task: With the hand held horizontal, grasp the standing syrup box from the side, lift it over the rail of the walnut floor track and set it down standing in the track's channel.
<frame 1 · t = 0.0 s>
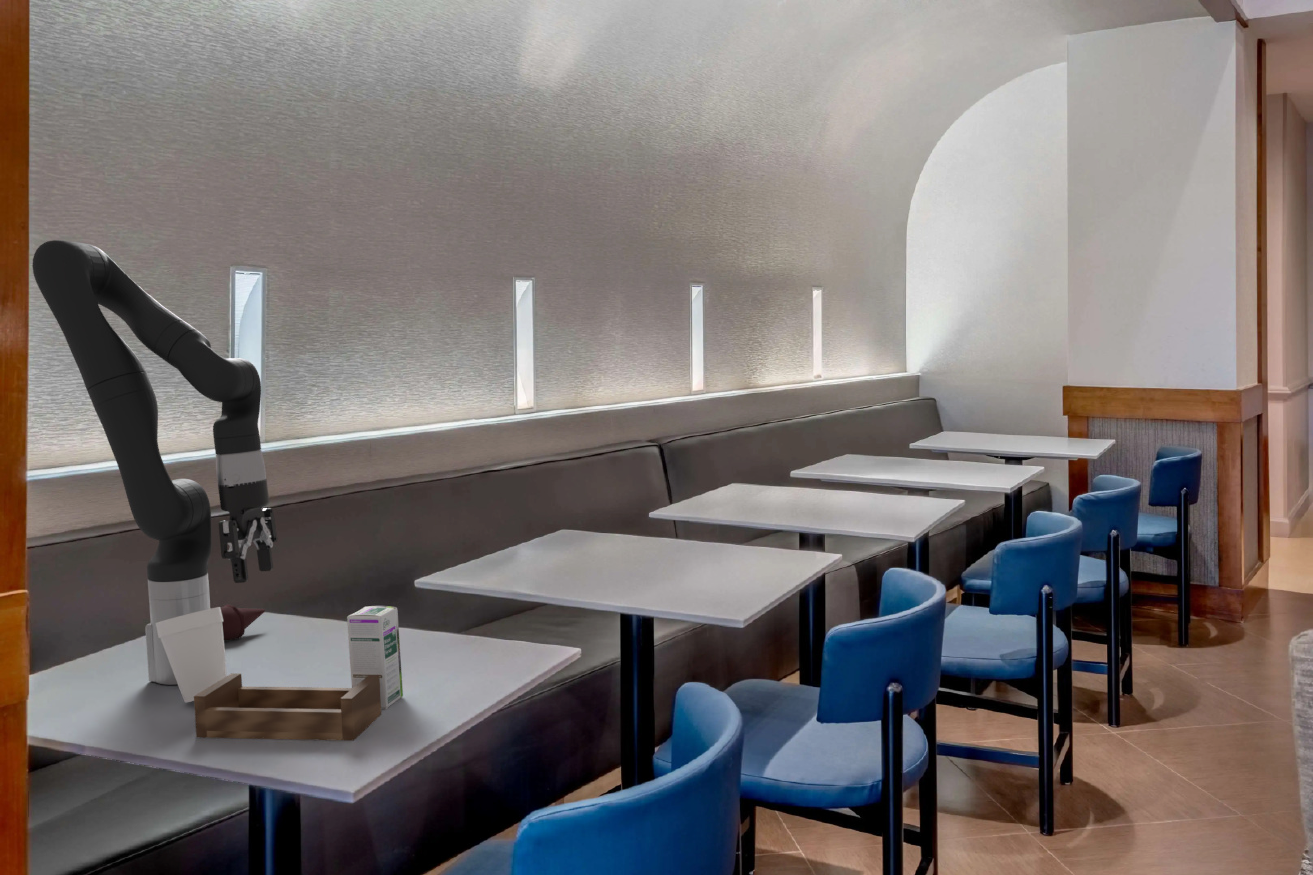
hand: (254, 576, 176), 17 cm above the table, tool pointing down, fingers open, 8 cm apart
syrup box: (377, 703, 164), on the table
foam cup: (206, 697, 166), point 1 cm above the table
icecream: (231, 640, 203), on the table
track: (291, 725, 155), on the table
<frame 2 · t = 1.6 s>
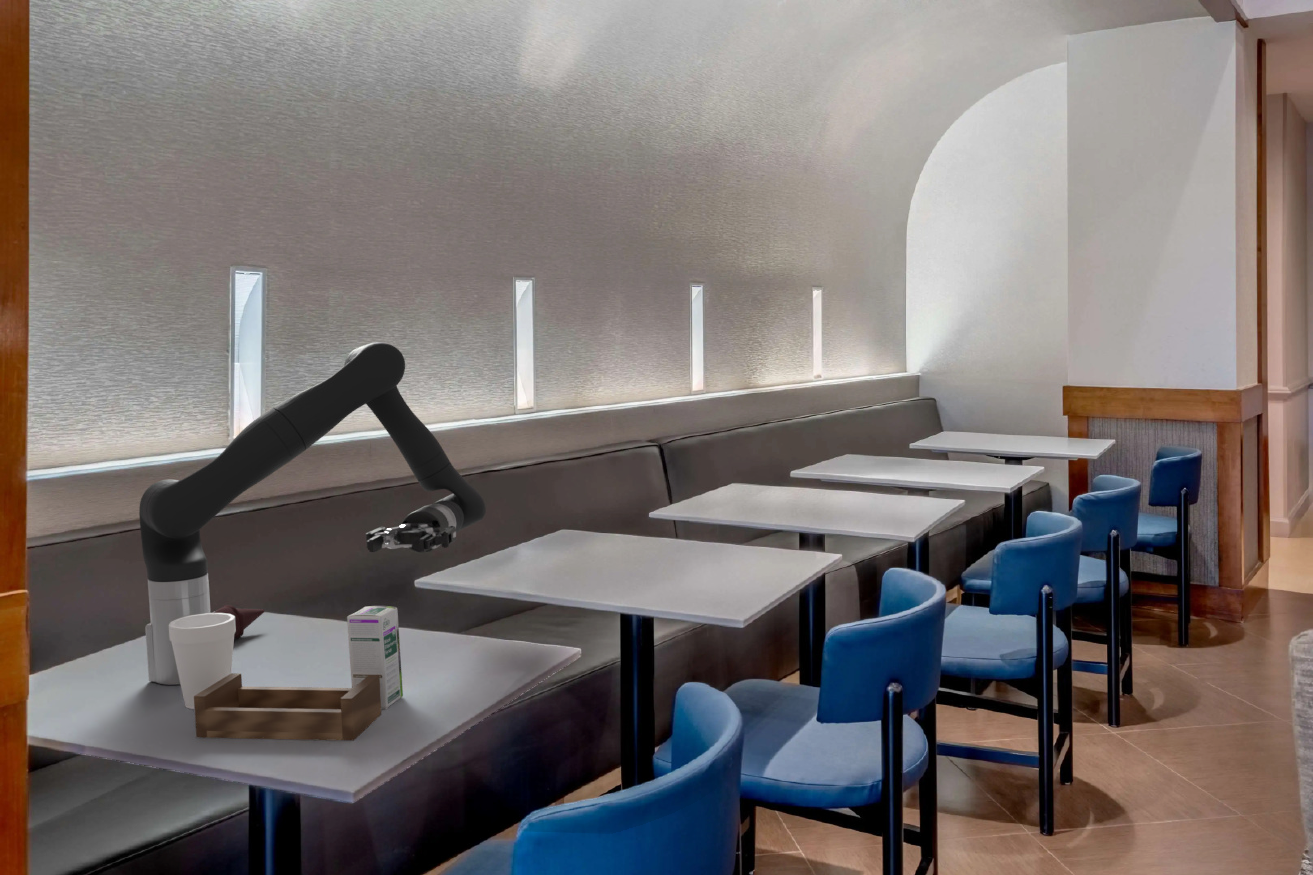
hand: (396, 546, 173), 22 cm above the table, tool horizontal, fingers open, 8 cm apart
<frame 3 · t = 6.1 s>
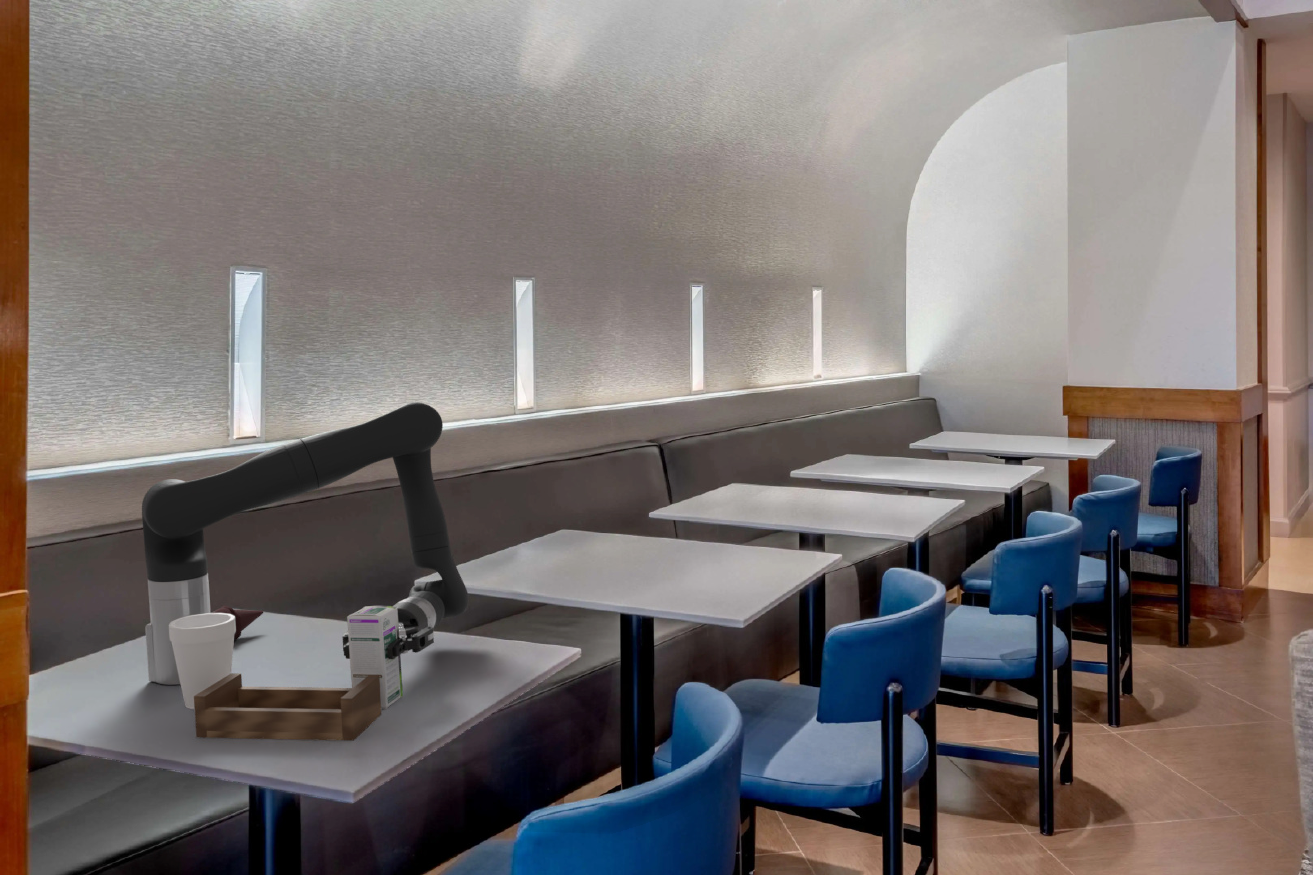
hand: (369, 652, 161), 9 cm above the table, tool horizontal, fingers closed on syrup box, 6 cm apart
syrup box: (377, 703, 164), on the table, touching gripper
when the fingers open (11 cm above the table, at t = 10.5 s): syrup box drops 1 cm, resting on track.
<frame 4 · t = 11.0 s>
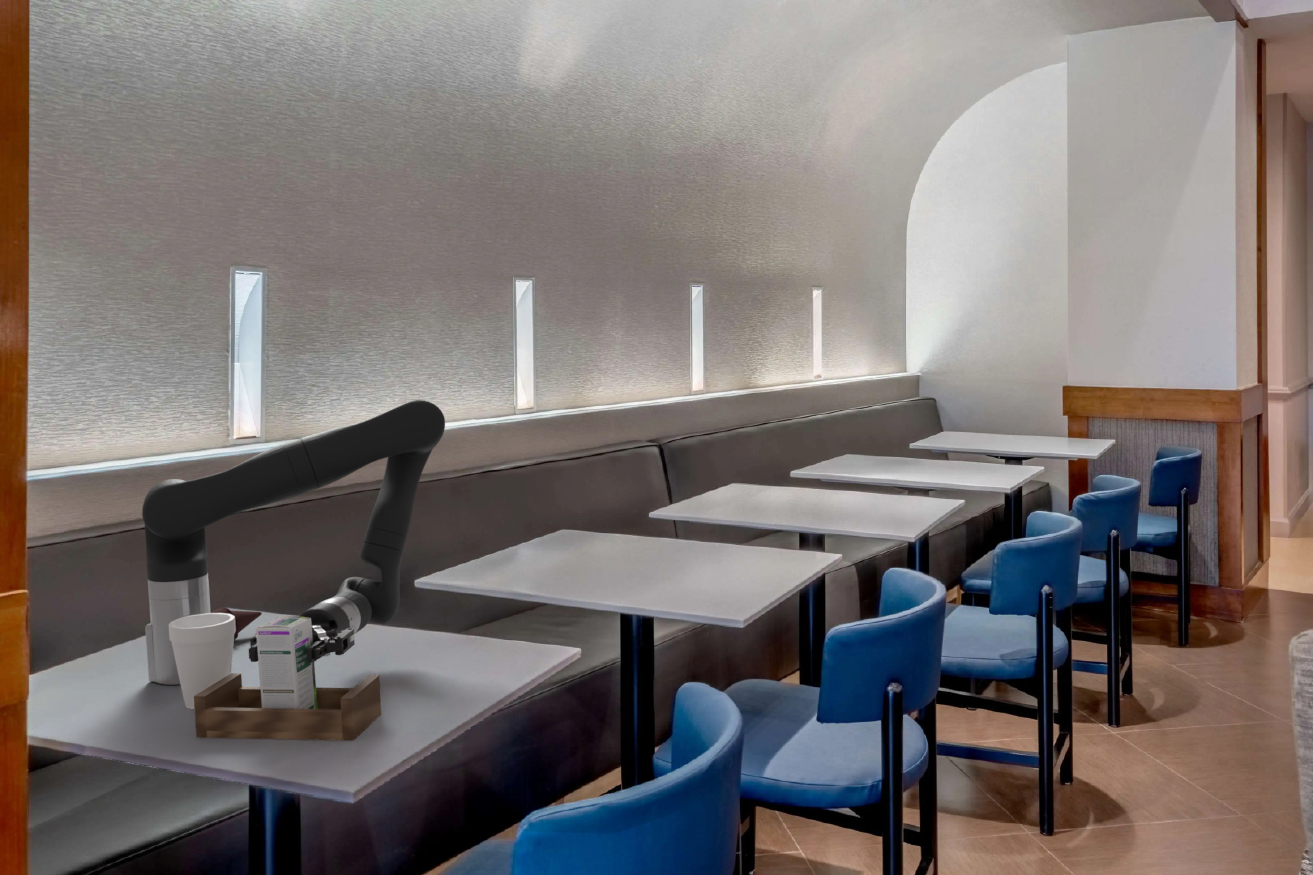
hand: (280, 655, 152), 11 cm above the table, tool horizontal, fingers open, 8 cm apart
syrup box: (290, 720, 155), point 1 cm above the table, touching track
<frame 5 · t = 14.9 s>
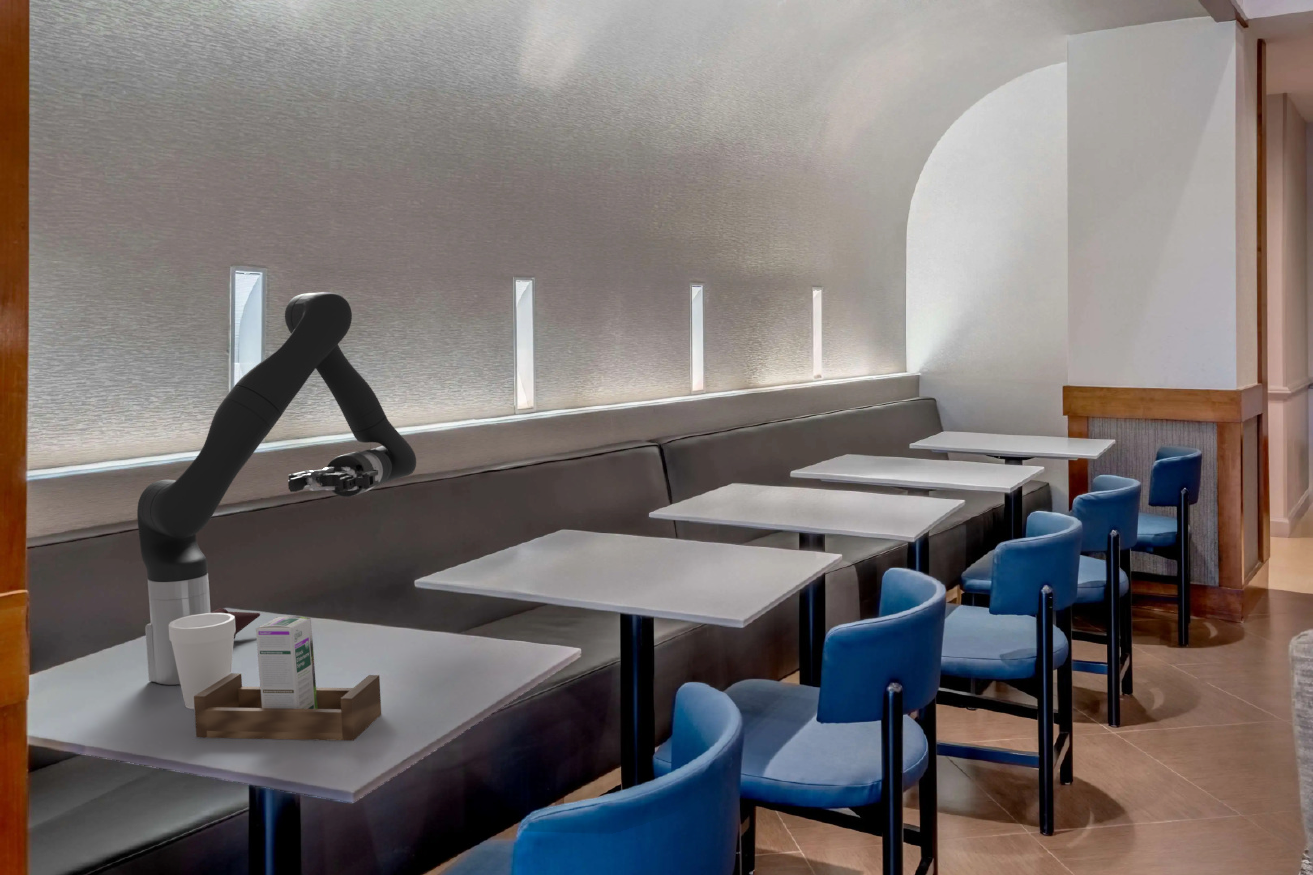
hand: (316, 485, 176), 32 cm above the table, tool horizontal, fingers open, 8 cm apart
at the end: syrup box inside the target area on the track (0.1 cm from its centre), point 0.8 cm above the track's base; syrup box tilted 0°; the gripper is holding nothing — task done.
